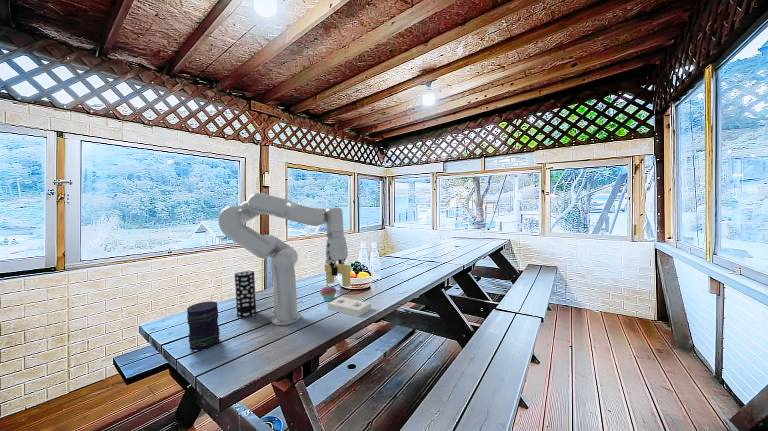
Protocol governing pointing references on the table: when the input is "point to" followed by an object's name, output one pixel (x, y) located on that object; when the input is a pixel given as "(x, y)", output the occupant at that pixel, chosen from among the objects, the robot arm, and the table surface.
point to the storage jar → (203, 325)
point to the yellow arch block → (340, 269)
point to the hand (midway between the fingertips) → (337, 273)
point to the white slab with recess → (349, 306)
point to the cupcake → (328, 293)
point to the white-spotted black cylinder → (245, 294)
